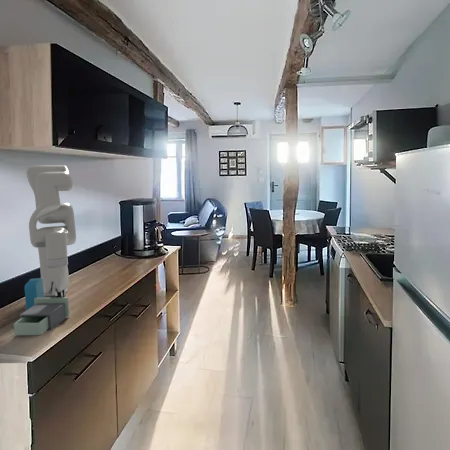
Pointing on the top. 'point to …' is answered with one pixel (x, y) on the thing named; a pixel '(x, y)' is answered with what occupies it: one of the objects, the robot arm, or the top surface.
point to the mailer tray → (38, 318)
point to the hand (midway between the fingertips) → (61, 306)
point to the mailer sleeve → (48, 312)
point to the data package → (33, 291)
